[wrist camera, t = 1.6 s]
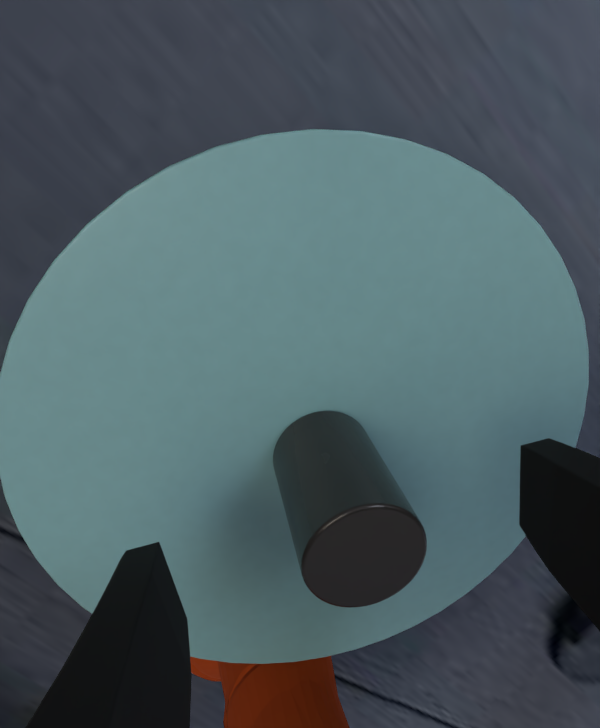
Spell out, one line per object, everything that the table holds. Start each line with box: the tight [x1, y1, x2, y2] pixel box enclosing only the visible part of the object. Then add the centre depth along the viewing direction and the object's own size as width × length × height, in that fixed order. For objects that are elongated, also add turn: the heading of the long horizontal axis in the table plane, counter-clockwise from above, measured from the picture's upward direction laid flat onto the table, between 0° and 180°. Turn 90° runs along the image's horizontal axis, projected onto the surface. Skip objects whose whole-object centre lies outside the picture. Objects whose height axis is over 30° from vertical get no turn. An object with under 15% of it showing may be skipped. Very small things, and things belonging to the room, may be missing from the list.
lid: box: [0, 129, 589, 664], centre depth 12 cm, size 14×14×5 cm
